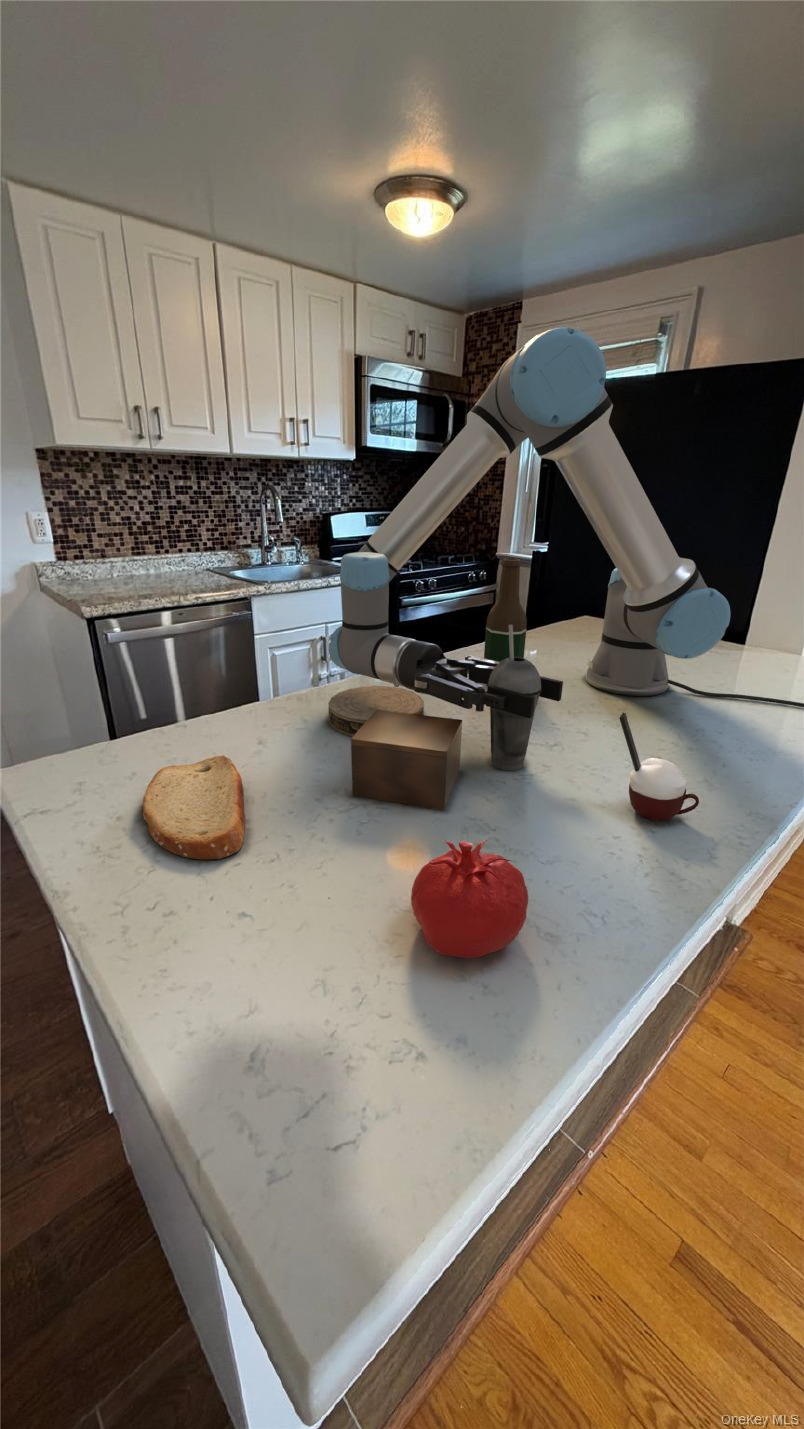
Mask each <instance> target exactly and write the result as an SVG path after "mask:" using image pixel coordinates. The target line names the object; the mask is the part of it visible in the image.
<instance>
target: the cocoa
mask: <svg viewBox="0 0 804 1429" xmlns="http://www.w3.org/2000/svg"><path fill="white" fill-rule="evenodd" d="M618 719H619V722H620V725H621V729H622V732H623V736H624V739H625V742H626V745H627V748H628V752H629V755H630V759H631V762H632V765H633V769H632V771H630V774H629V784H628V796H629V797H628V798H629V801H630V805H631V806H632V808H633V809H634V810H635V812H636V813H637V814H638V815H640V816H641V817H642V818H644V819H647V820H651V821H656V822H657V821H658V822H662V821H667V820H671V819H672V818H674V817H676V816H679V815H684V814H688V813H690V812H691V811H693V810H695V809H696V808H697V807H699V804H700V799H699V797H698V795H696V794H695V793H687V789H686V786H687V785H686V784H687V779H686V778H685V776H684V775H683V773H682V772H681V770H680V769H679V767H678V766H677V765H676V763H672V762H671V761H669V760H667V759H663V758H657V757H649V758H646V759H644V760H642V761H640V758H639V754H638V750H637V747H636V745H635V740H634V737H633V733H632V730H631V727H630V724H629V720H628V716H627V713H626V712H623V711H622V713H621V714H620V715H619V718H618ZM687 799H692V800H694V801H695V802H694V803H693V804H692V805H691V806H687V807H685V808H684V809H682V807H683V805H684V803H685V801H686V800H687Z"/></svg>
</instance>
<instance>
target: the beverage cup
mask: <svg viewBox="0 0 804 1429" xmlns="http://www.w3.org/2000/svg"><path fill="white" fill-rule="evenodd" d="M509 649H510V658H506V659H504V660H502V661H501V662H499V663H498V664H497V665H496V666H495V668H494V669H493V671H492V673H491V675H490V678H489V682H488V684H486V687H488V686H490V685H491V686H495V687H499V688H503V689H507V690H511V691H514V692H518V693H522V694H526V695H530V696H534V697H535V702H534V711H533V717H532V718H527V717H523V716H520V715H516V714H513V713H509V712H506V711H502V710H499V709H495V708H492V707H489V719H490V720H489V721H490V730H489V731H490V756H491V764H492V766H493V767H495V768H497V769H499V770H503V771H516V770H517V771H518V770H520V769H521V768H523V767H524V764H525V763H524V762H525V759H526V756H527V752H528V747H529V741H530V737H531V731H532V726H533V723H534V722H533V721H534V716H535V711H536V707H537V704H538V702H539V699H540V697H539V696H540V693H541V691H542V687H541V678H540V676H541V675H540V672H539V670H538V668H536V666H535V664H533V663H532V662H531V661H530V660H528V659H527V658H525V657H524V658H521V657H514V649H513V625H509Z"/></svg>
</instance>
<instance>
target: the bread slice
mask: <svg viewBox="0 0 804 1429" xmlns="http://www.w3.org/2000/svg"><path fill="white" fill-rule="evenodd" d="M236 767H237V766H235V764H234V763H233V761H232V760H231V758H229V757H228V756H226V755H224V754H223V755H215V756H213V757H208V758H205V759H203V760H201V761H197V762H195V763H191V764H181V765H169V766H165V767H162V768H160V769H159V770H158V771H157V772H156V773H155V774H154V775H153V777H152V779H151V780H150V782H149V783H148V785H147V787H146V788H145V794H144V796H143V798H142V810H143V812H142V815H143V819H144V821H145V822H146V824H147V825H148V829H147V830H148V833H149V835H150V836H151V838H152V839H153V841H154V842H156V843H157V844H159V845H160V847H162V848H163V849H164V850H166V851H168V852H170V853H172V854H174V855H178V856H180V857H183V858H188V859H194V860H215V859H216V860H221V859H222V858H223V859H224V858H226V857H229V856H231V855H234V854H236V853H238V852H240V850H241V848H242V846H243V844H244V836H245V830H246V815H245V794H244V793H245V792H244V786H243V779H242V777H241V774H240V772H239V771H238V769H237V768H236Z"/></svg>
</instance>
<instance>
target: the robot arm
mask: <svg viewBox="0 0 804 1429" xmlns="http://www.w3.org/2000/svg"><path fill="white" fill-rule="evenodd" d="M606 378H607V367H606V361H605V357H604V355H603V352H602V350H601V348H600V346H599V345H598V344H597V342H596V341H595V340H594V339H593V338H592V337H591V336H590V335H588V334H587V333H586V332H584V331H582V330H579V329H577V328H572V327H564V326H563V327H555V328H551V329H549V330H546V331H544V332H541V333H538V334H536V335H535V336H534V337H532V338H531V339H528V341H527V342H526V343H525V344H524V345H523V346H522V347H521V348H519V350H517V351H515V353H513V354H512V355H511V356H509V357H508V358H507V359H506V360H505V362H504V363H503V364H502V365H501V367H500V368H499V369H498V371H497V373H496V374H495V376H494V377H493V378H492V380H491V381H490V383H489V385H488V386H487V388H486V389H485V391H484V392H483V394H482V395H481V396H480V397H479V399H478V400H477V402H476V403H475V404H474V405H473V406H472V408H471V409H470V410H469V412H468V413H467V414H466V425H465V426H463V428H462V429H461V430H460V432H459V433H458V434H457V435H456V436H455V437H454V439H453V440H452V441H451V442H450V443H449V444H448V446H447V447H446V448H445V449H444V450H443V452H442V453H441V454H440V455H439V456H438V457H437V459H436V460H435V461H434V462H433V463H432V465H431V466H430V467H429V468H428V470H426V471H425V473H424V474H423V475H422V476H421V477H420V479H419V480H418V481H417V482H416V483H415V485H414V486H413V487H411V489H410V490H409V491H408V493H407V494H406V495H405V496H404V497H403V498H402V499H401V501H400V502H399V503H398V505H397V506H396V507H395V508H394V509H393V510H392V511H391V512H390V514H389V515H388V516H387V517H386V518H385V520H384V521H383V522H382V523H381V524H380V525H379V527H378V528H377V529H376V530H375V532H373V534H372V535H371V536H370V537H369V539H367V541H366V542H365V544H364V545H363V546H362V547H361V548H360V549H359V550H358V551H357V552H348V553H345V554H344V555H343V556H342V557H341V559H340V571H339V581H340V593H341V594H340V599H341V616H342V620H341V625H340V626H339V627H337V628H335V630H334V631H333V632H332V634H331V636H330V638H331V639H330V642H329V643H328V654H329V658H330V660H331V661H332V663H333V664H334V665H335V666H337V667H338V668H340V669H343V670H345V671H347V672H350V673H352V674H354V675H355V674H356V675H360V676H364V677H368V678H372V679H375V680H379V681H382V682H386V683H389V684H392V685H393V686H394V687H395V688H400V687H404V688H406V689H407V690H408V689H409V690H412V691H414V693H418V694H424V695H429V696H431V697H434V698H436V699H440V700H442V701H445V702H447V703H450V704H452V705H455V706H457V707H460V708H463V709H466V710H471V709H473V706H475V709H474V710H475V712H484V710H485V706H486V707H487V708H488V707H489V708H490V707H492V708H495V709H499V710H502V711H506V712H509V713H513V714H516V715H520V716H523V717H527V718H532V717H533V711H534V702H535V697H534V696H530V695H526V694H522V693H518V692H514V691H511V690H507V689H503V688H499V687H495V686H491V685H490V686H488V687H487V686H483V685H487V684H488V682H489V678H490V675H491V673H492V671H493V669H494V668H495V666H496V665H497V664H498V663H499V662H498V661H492V660H486V659H484V658H481V657H477V656H474V655H471V654H467V655H465V656H464V659H459V658H458V657H453V656H448V657H446V655H445V654H444V652H443V650H442V648H441V647H440V646H439V645H437V644H435V643H430V642H428V641H427V642H426V641H421V640H416V638H415V639H414V638H411V637H405V636H401V635H395V634H390V633H389V622H390V620H389V599H390V597H389V596H390V592H389V590H390V585H389V584H390V582H391V581H392V580H393V579H394V578H395V577H396V575H397V573H398V572H400V570H401V569H402V567H403V566H404V565H405V564H406V563H407V562H408V561H409V560H410V558H412V556H413V555H414V554H415V553H416V552H417V551H418V550H419V549H420V548H421V546H422V545H423V544H424V543H425V542H426V540H427V539H428V538H430V537H431V535H432V534H433V533H434V532H435V530H437V528H438V527H439V526H440V525H441V524H442V523H443V522H444V521H445V519H446V518H447V517H448V516H449V515H450V514H451V513H452V511H454V509H455V508H456V507H457V506H458V505H459V504H460V503H461V502H462V500H463V499H464V498H465V497H466V496H467V495H468V494H469V492H470V491H471V490H472V489H473V488H474V487H475V486H476V485H477V483H478V482H479V481H480V480H481V479H482V478H483V477H484V476H485V475H486V474H487V473H488V471H489V470H490V469H491V468H492V467H493V466H494V464H495V463H496V462H497V461H498V460H499V459H501V458H502V459H503V458H509V457H510V456H511V454H513V452H514V451H515V450H516V449H517V448H518V447H519V446H520V445H521V444H522V443H523V442H525V441H526V440H527V439H528V440H529V441H530V443H531V445H532V447H533V448H534V450H535V452H536V453H537V456H539V458H540V459H546V460H551V461H553V462H555V464H556V466H557V468H558V469H559V471H560V473H561V474H562V476H563V479H564V480H565V482H566V483H567V485H568V487H569V488H570V490H571V492H572V493H573V496H574V497H575V499H576V501H577V503H578V504H579V506H580V508H581V509H582V511H583V513H584V514H585V517H586V518H587V519H588V522H589V523H590V525H591V527H592V529H593V531H594V532H595V533H596V535H597V537H598V539H599V541H600V543H601V544H602V545H603V547H604V549H605V551H606V553H607V554H608V556H609V558H610V559H611V561H612V563H613V564H614V566H615V568H614V569H613V570H612V571H611V574H610V579H609V582H608V585H607V588H608V589H607V597H606V603H605V611H604V618H603V625H602V633H601V639H600V643H599V645H598V648H597V650H596V652H595V654H594V655H593V657H592V659H591V660H590V659H589V658H587V661H586V665H587V666H588V668H587V670H586V676H585V680H586V682H587V683H588V684H589V685H590V686H593V687H594V688H596V689H598V690H601V691H604V692H608V693H612V694H617V695H624V696H633V697H648V696H649V697H650V696H656V695H661V694H663V693H665V692H666V691H667V690H668V685H672V686H674V687H678V688H681V689H683V690H685V691H688V692H690V693H692V694H696V695H700V696H704V697H713V698H726V699H728V698H729V699H742V700H750V701H757V702H766V703H774V704H781V705H787V706H793V707H799V708H804V702H799V701H793V700H786V699H779V698H772V697H764V696H757V695H755V696H754V695H746V694H739V693H738V694H737V693H720V692H709V691H704V690H700V689H699V690H698V689H695V688H693V687H690V686H688V685H686V684H684V683H680V682H678V681H674V680H672V679H669V673H668V666H667V660H666V656H669V657H670V656H671V657H673V658H676V659H681V660H682V659H684V660H685V659H686V660H688V659H693V658H697V657H701V656H702V655H704V654H706V653H708V652H709V651H710V650H712V649H714V647H716V646H717V645H718V644H719V643H720V642H721V640H722V639H723V637H724V636H725V633H726V630H727V628H728V627H729V626H730V621H731V606H730V603H729V601H728V600H727V598H726V597H725V596H724V595H723V594H722V593H721V592H719V591H718V590H717V589H715V588H712V587H708V586H707V584H706V583H705V580H704V578H703V576H702V575H701V572H700V571H699V569H698V568H697V565H696V563H695V562H694V560H692V559H690V558H685V557H680V556H679V555H678V553H677V551H676V549H675V547H674V545H673V543H672V541H671V539H670V537H669V535H668V533H667V532H666V529H665V528H664V526H663V524H662V523H661V521H660V519H659V517H658V515H657V513H656V511H655V509H654V507H653V505H652V503H651V501H650V499H649V498H648V496H647V494H646V492H645V490H644V488H643V486H642V484H641V482H640V481H639V478H638V476H637V475H636V472H635V471H634V469H633V466H632V465H631V463H630V461H629V460H628V457H627V456H626V454H625V452H624V450H623V448H622V446H621V444H620V441H619V440H618V438H617V437H616V434H615V433H614V431H613V429H612V427H611V425H610V417H611V414H612V410H613V407H614V404H613V402H612V400H611V398H610V397H609V394H608V392H607V391H606V388H605V383H606ZM540 678H541V687H542V691H541V693H540V696H539V698H542V699H543V698H544V699H547V700H551V701H555V702H560V701H561V700H562V694H563V687H564V681H563V680H559V679H556V678H550V677H547V676H542V675H540ZM486 687H487V688H486ZM533 718H534V717H533Z"/></svg>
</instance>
